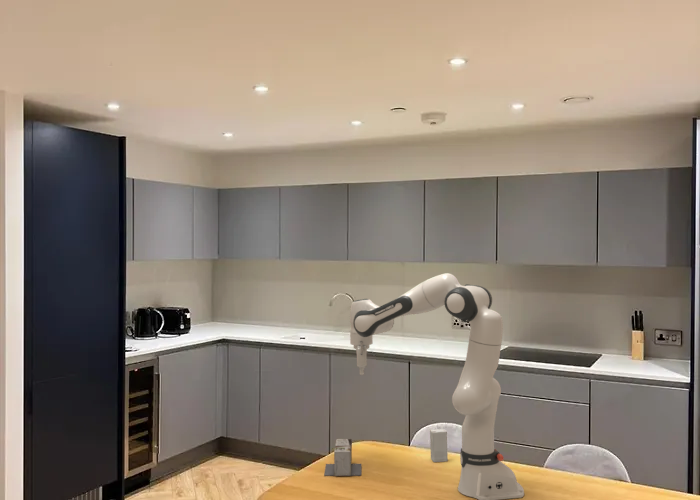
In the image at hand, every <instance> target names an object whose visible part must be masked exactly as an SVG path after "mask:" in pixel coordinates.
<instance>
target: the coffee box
mask: <svg viewBox="0 0 700 500" xmlns="http://www.w3.org/2000/svg"><path fill="white" fill-rule="evenodd" d="M352 443H353V440H352V438H337V439H335V447H334V452H333V455H334V459H333V461H334V463H333V464H334V475H335V476H334V477H347V476H346V475H351V464H352V461H353V459H352V457H353V454H352V452H353V451H352V450H353V447H352V446H353V445H352Z"/></svg>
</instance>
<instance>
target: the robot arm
mask: <svg viewBox="0 0 700 500" xmlns="http://www.w3.org/2000/svg"><path fill="white" fill-rule="evenodd" d="M492 303H493V296H492V294H491V292H490V291H489V290H488V289H487V288H486V287H483V286H480V285H477V284H467V283H466V284H465V285H462V284H461V283H460V282H459V280H458V278H457V277H456V276H455V275H454V274H453V273H448V272H446V273H442V274H437V275H435V276H433V277H431V278H428V279H426V280H424V281H422V282H420V283H419V284H417V285H415V286H414V287H412V288H410V289H409V290H408V291H406V292H405V293H403V294H401V295H400V296H399V297H397V298H395V299H393V300H391V301H389V302H387V303H385V304H383V305H377V303H375V302H373V301H372V300H371V299H369V298H362V299H355V300H354V301H352V303H351V305H350V310H349V322H350V327H351V328H350V331H349V334H350V335H349V336H350V337H349V340H350V345H352V346H353V349H355V352H356V366H357V368H358V369H359V375H360V376H364V375H365V368H366V367H367V365H368V364H367V361H368V360H367V352H368V351H367V350H369V349H370V345H373V335H379V334H383V333H386V332H389V331H390V330H392V328H393V327H394V324H395V319H398V318H399V317H404V316H409V315H411V316H412V315H419V314H424V313H428V312H429V313H430V312H432V311H435V310H437V309H439V308H441V307H445V310H446V311H447V312H448V314H450V315H451V316H452V317H454V318H456V319H459V320H460V321H462V322H463V323H469V326H470V332H469V339H468V344H467V350H466V351H467V352H466V357H465V362H464V366H463V368H462V371H461V374H460V377H459V381H458V383H457V385H456V388H455V389H454V392H453V393H452V396H451V402H452V405H453V408H454V409H455V411H456V412H458V413H459V414H460V415H463V416H464V420H463V423H462V424H461V448H460V455H459V456H460V467H461V470H460V477H459V483H458V487H457V490H458V492H459V493H461V494H462V495H464V496H467V497H469V498H475V499H476V500H508V499H518V498H523V497H524V496H525V490H524V487H523V486H522V485H521V484H520V483H519V482H518V481H517V476H516V474H515V473H514V471H513V469H512V468H511V467H508V466H507V465H506V464H505V463H503V462H502V461H503V460H504V456H503V454H502V453H500V451H498V450H497V449H496V448H495V422H496V416H497V412H498V411H497V410H498V405H499V399H500V397H501V392H502V388H501V384H500V382H499V381H498V380H497V379H496V378H495V377H494V376H495V373H496V370H497V368H498V367H499V361H500V355H501V349H502V343H503V333H504V332H503V317H502V315H501V313H499V312H497V311H496V310H493V309H491V308H492Z"/></svg>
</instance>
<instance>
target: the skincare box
mask: <svg viewBox="0 0 700 500" xmlns="http://www.w3.org/2000/svg"><path fill="white" fill-rule="evenodd" d="M429 442H430V443H429V444H430V445H429V447H430V460H431V461H432V462H433V463H440V462H441V463H442V462H448V460H449V459H448V454H449V453H448V431H447V430H446V429H444V428H437V429H429Z"/></svg>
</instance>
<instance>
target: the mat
mask: <svg viewBox="0 0 700 500" xmlns="http://www.w3.org/2000/svg"><path fill="white" fill-rule="evenodd" d="M323 476H324V477H336V476H335V475H334V463H325V468H324V474H323ZM356 476H357V477H361V476H362V463H351V475H346V476H345V477H356Z"/></svg>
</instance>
